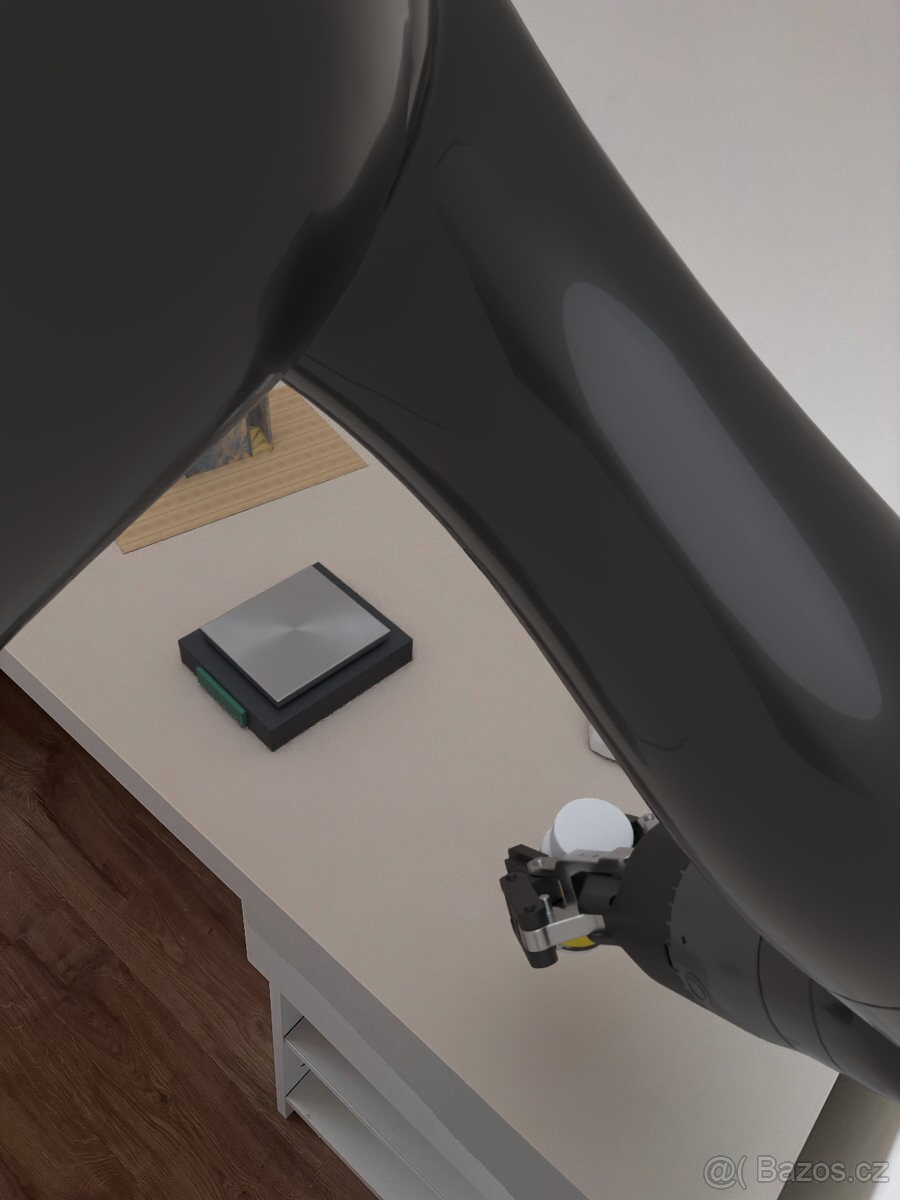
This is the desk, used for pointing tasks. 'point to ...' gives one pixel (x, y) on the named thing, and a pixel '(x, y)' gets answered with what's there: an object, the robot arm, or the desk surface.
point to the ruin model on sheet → (244, 435)
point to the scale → (312, 703)
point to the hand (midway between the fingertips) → (562, 847)
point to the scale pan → (294, 634)
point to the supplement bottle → (586, 841)
